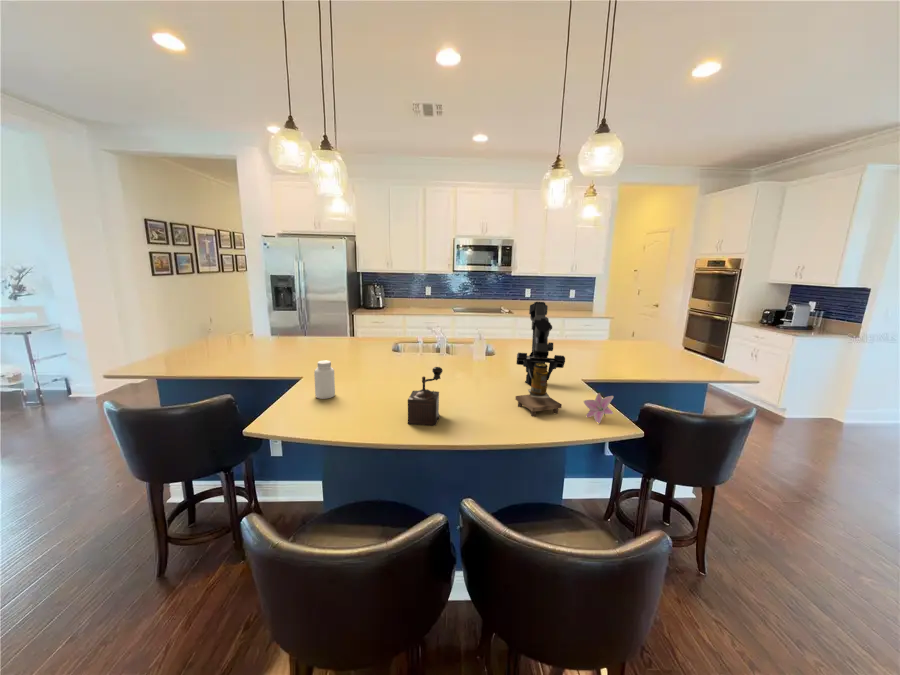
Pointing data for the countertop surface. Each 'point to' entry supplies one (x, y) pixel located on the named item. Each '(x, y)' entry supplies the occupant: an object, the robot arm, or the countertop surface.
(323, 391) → the pill bottle
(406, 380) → the countertop surface
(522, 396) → the stool
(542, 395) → the condiment
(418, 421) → the manual coffee grinder
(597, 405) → the lily
